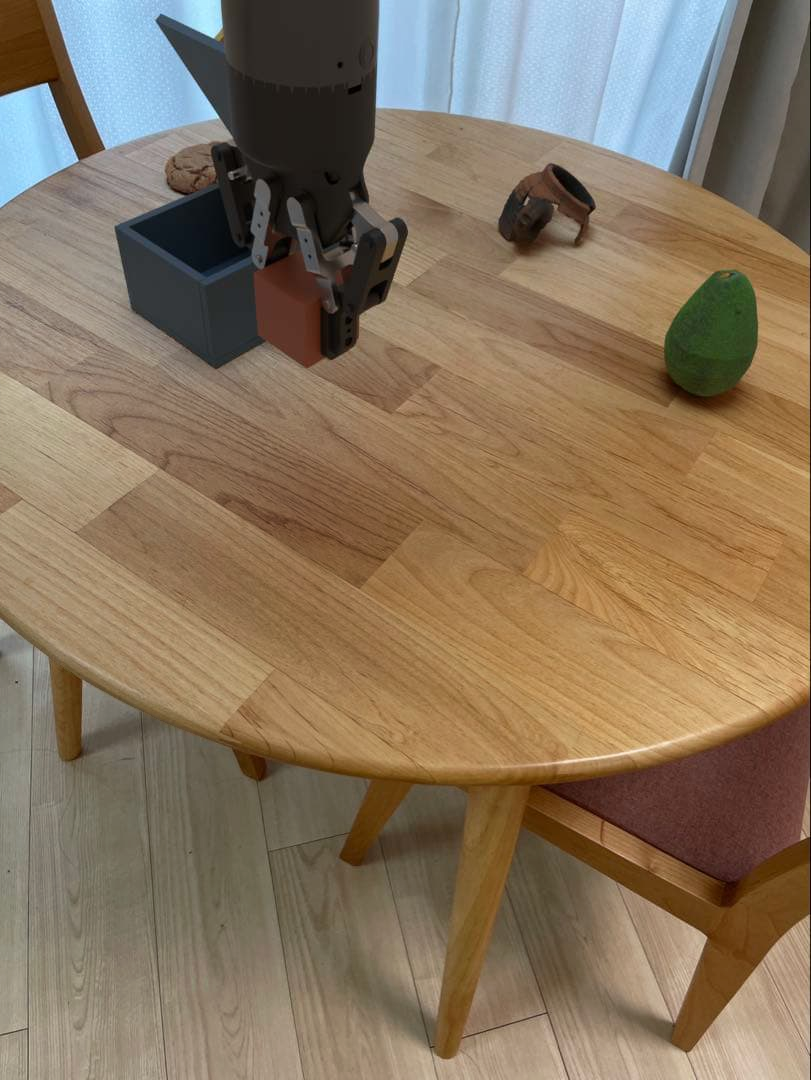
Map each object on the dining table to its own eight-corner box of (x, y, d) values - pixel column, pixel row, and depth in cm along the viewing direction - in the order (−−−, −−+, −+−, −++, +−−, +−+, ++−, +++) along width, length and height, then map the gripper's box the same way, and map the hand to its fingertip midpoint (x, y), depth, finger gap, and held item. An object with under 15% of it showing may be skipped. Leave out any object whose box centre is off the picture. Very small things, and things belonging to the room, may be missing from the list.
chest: (215, 369, 81) (205, 285, 75) (131, 309, 86) (113, 226, 80) (343, 297, 90) (344, 216, 83) (259, 246, 95) (254, 166, 88)
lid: (259, 71, 67) (301, 19, 67) (154, 20, 72) (194, -28, 72) (342, 215, 83) (375, 173, 83) (251, 165, 88) (283, 125, 88)
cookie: (148, 179, 103) (144, 154, 100) (211, 148, 109) (209, 123, 106) (210, 209, 99) (207, 184, 97) (272, 175, 105) (271, 150, 103)
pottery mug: (505, 206, 105) (550, 149, 100) (562, 261, 105) (611, 207, 100) (474, 228, 95) (523, 165, 90) (537, 288, 96) (590, 229, 91)
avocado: (700, 353, 87) (742, 244, 78) (751, 402, 83) (803, 292, 74) (634, 371, 85) (670, 261, 76) (684, 423, 80) (728, 312, 71)
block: (306, 369, 54) (305, 306, 51) (257, 335, 56) (252, 272, 53) (359, 339, 57) (361, 276, 53) (310, 307, 58) (309, 245, 55)
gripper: (149, 20, 44) (190, 307, 57) (349, 121, 38) (344, 415, 51) (263, -11, 48) (277, 265, 61) (460, 76, 42) (430, 361, 55)
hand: (308, 332), depth 56 cm, fingers closed on block, 4 cm apart
